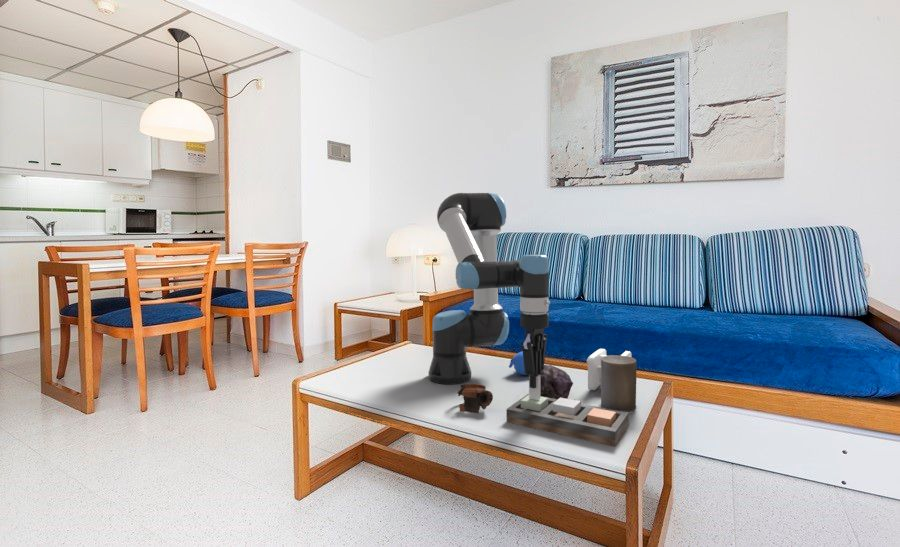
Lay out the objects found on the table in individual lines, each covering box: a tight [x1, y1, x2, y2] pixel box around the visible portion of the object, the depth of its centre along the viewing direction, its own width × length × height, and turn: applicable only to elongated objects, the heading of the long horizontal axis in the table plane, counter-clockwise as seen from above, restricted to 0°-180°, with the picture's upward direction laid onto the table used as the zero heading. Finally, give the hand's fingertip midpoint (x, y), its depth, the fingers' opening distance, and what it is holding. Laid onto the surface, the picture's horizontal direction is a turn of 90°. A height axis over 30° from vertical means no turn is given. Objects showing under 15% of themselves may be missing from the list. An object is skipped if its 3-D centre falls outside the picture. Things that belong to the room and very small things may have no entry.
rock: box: [540, 364, 574, 399], centre depth 142 cm, size 12×9×10 cm
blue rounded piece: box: [508, 351, 526, 376], centre depth 167 cm, size 12×12×8 cm
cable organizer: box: [586, 348, 632, 391], centre depth 149 cm, size 15×11×12 cm
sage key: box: [521, 395, 548, 411], centre depth 126 cm, size 6×6×2 cm
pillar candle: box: [600, 354, 637, 412], centre depth 133 cm, size 10×10×15 cm
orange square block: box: [587, 408, 616, 427], centre depth 116 cm, size 6×6×2 cm
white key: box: [553, 398, 582, 416], centre depth 121 cm, size 6×6×2 cm
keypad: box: [506, 393, 630, 447], centre depth 121 cm, size 28×14×4 cm, turn 57°
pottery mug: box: [457, 383, 494, 414], centre depth 133 cm, size 12×10×8 cm
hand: (534, 398), depth 126 cm, fingers closed
